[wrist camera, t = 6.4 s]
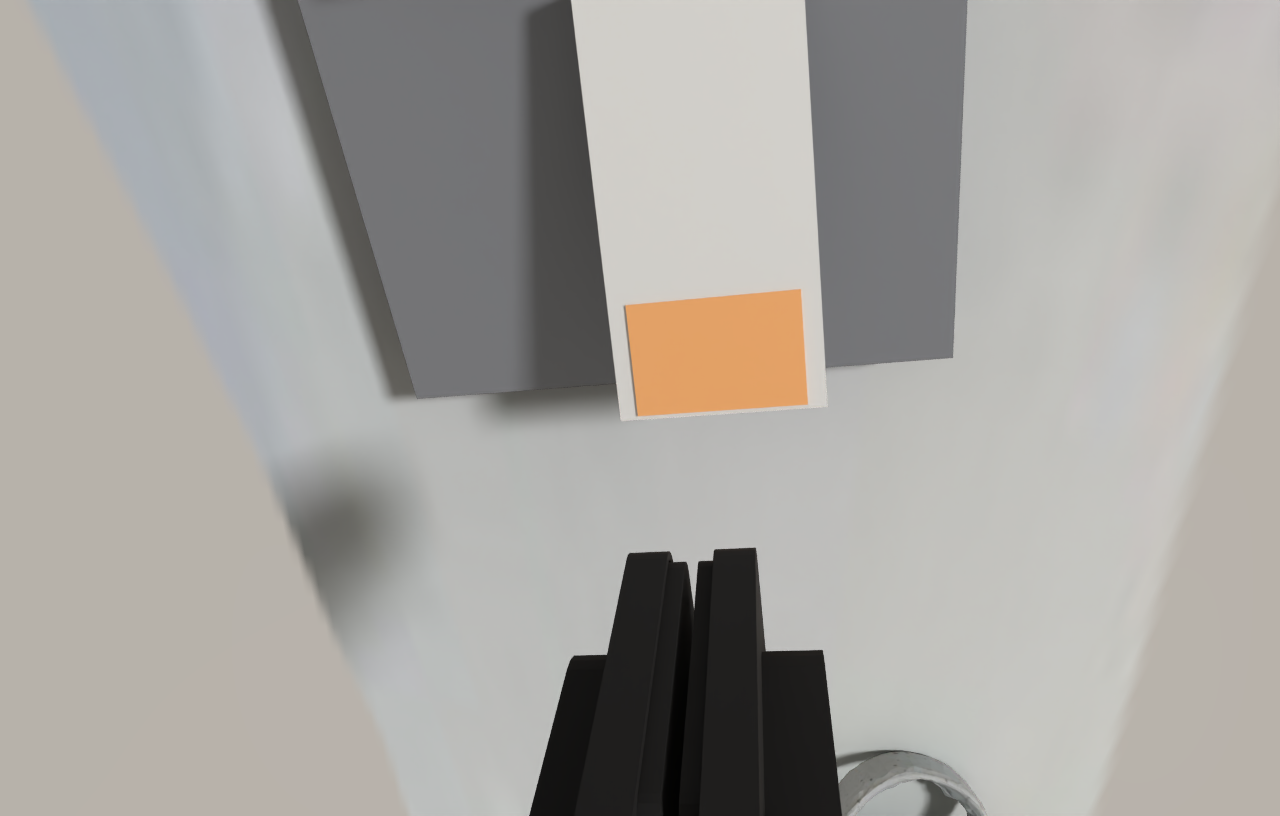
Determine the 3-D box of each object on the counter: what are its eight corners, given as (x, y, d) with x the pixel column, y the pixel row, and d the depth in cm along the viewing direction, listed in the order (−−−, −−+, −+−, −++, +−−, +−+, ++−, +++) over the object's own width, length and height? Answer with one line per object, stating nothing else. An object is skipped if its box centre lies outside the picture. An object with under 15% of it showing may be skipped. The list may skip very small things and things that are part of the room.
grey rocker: (578, -19, 17) (566, -32, 16) (798, -54, 16) (801, -70, 15) (627, 409, 19) (620, 421, 18) (823, 395, 18) (828, 407, 17)
